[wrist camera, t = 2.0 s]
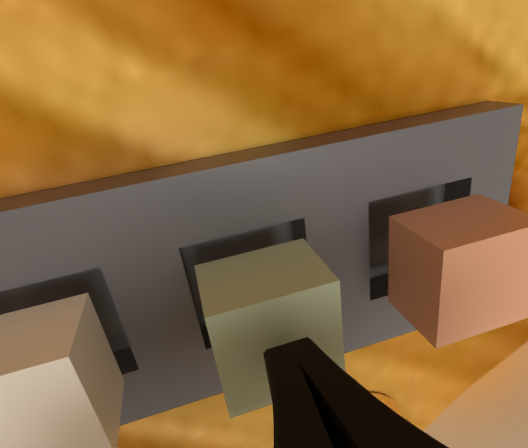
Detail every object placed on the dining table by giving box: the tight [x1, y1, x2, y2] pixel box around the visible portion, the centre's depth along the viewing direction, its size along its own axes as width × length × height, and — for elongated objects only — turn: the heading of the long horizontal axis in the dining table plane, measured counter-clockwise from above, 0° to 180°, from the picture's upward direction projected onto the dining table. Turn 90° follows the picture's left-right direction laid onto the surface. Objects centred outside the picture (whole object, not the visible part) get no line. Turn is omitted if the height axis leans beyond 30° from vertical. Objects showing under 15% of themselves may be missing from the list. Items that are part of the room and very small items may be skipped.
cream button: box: [0, 293, 124, 448], centre depth 11 cm, size 4×4×3 cm
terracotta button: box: [388, 194, 528, 349], centre depth 14 cm, size 4×4×3 cm
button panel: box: [0, 101, 523, 425], centre depth 15 cm, size 10×24×2 cm, turn 98°
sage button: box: [194, 238, 345, 418], centre depth 12 cm, size 4×4×3 cm
